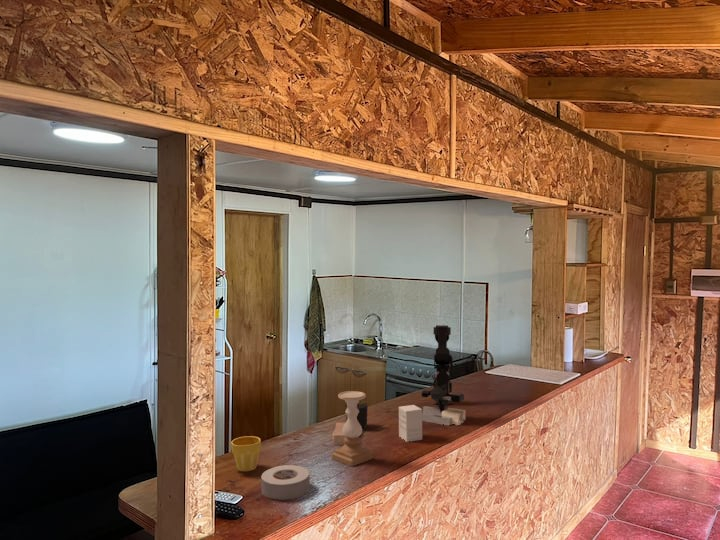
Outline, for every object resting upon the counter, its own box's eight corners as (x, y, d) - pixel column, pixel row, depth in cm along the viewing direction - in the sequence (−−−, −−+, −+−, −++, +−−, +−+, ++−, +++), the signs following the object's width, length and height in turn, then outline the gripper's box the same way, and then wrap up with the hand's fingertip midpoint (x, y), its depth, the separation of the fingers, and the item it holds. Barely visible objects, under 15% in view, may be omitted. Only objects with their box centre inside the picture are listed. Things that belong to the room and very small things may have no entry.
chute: (424, 412, 260) (424, 406, 260) (460, 418, 251) (460, 411, 251) (412, 419, 250) (412, 412, 250) (449, 425, 240) (449, 418, 240)
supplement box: (414, 434, 229) (414, 404, 228) (422, 440, 222) (422, 409, 221) (398, 436, 226) (398, 406, 226) (406, 442, 219) (406, 411, 219)
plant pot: (225, 468, 194) (225, 440, 193) (250, 460, 201) (250, 433, 201) (241, 476, 186) (241, 447, 186) (267, 468, 194) (266, 440, 193)
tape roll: (275, 504, 166) (275, 488, 165) (253, 487, 178) (253, 472, 178) (318, 491, 175) (318, 475, 174) (295, 476, 187) (294, 461, 187)
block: (449, 418, 251) (449, 407, 251) (465, 421, 247) (465, 410, 247) (441, 422, 245) (441, 411, 244) (458, 426, 240) (458, 414, 240)
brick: (352, 446, 216) (352, 434, 215) (331, 446, 216) (331, 434, 216) (356, 433, 232) (356, 422, 232) (336, 432, 233) (336, 421, 233)
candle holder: (373, 458, 202) (373, 394, 201) (351, 466, 194) (351, 399, 194) (352, 451, 210) (352, 389, 209) (331, 458, 202) (330, 394, 201)
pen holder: (353, 432, 231) (353, 409, 231) (341, 427, 239) (341, 404, 239) (371, 428, 236) (371, 405, 236) (359, 423, 244) (359, 400, 244)
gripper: (415, 380, 246) (415, 415, 247) (454, 386, 236) (454, 422, 237) (426, 375, 256) (426, 409, 256) (464, 381, 246) (464, 415, 246)
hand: (442, 414), depth 249 cm, fingers closed
